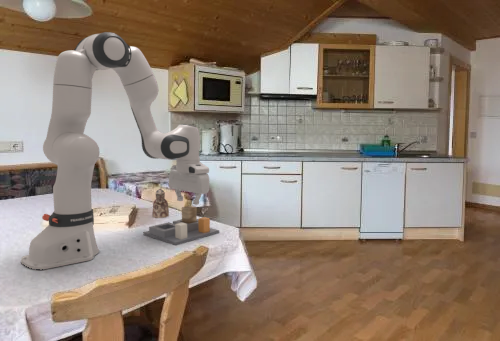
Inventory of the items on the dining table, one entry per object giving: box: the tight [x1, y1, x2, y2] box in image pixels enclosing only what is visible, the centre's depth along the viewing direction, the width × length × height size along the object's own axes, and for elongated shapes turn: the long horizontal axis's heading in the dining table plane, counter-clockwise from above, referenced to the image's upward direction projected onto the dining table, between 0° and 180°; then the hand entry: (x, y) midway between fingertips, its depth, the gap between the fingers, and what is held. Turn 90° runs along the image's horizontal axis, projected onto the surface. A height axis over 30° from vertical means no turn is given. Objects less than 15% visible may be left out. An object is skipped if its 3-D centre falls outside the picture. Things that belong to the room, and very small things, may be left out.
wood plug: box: [181, 205, 198, 224], centre depth 165 cm, size 4×4×8 cm
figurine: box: [151, 188, 170, 219], centre depth 187 cm, size 7×7×12 cm
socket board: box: [143, 216, 220, 246], centre depth 160 cm, size 21×19×6 cm
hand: (187, 202), depth 164 cm, fingers open, 8 cm apart
